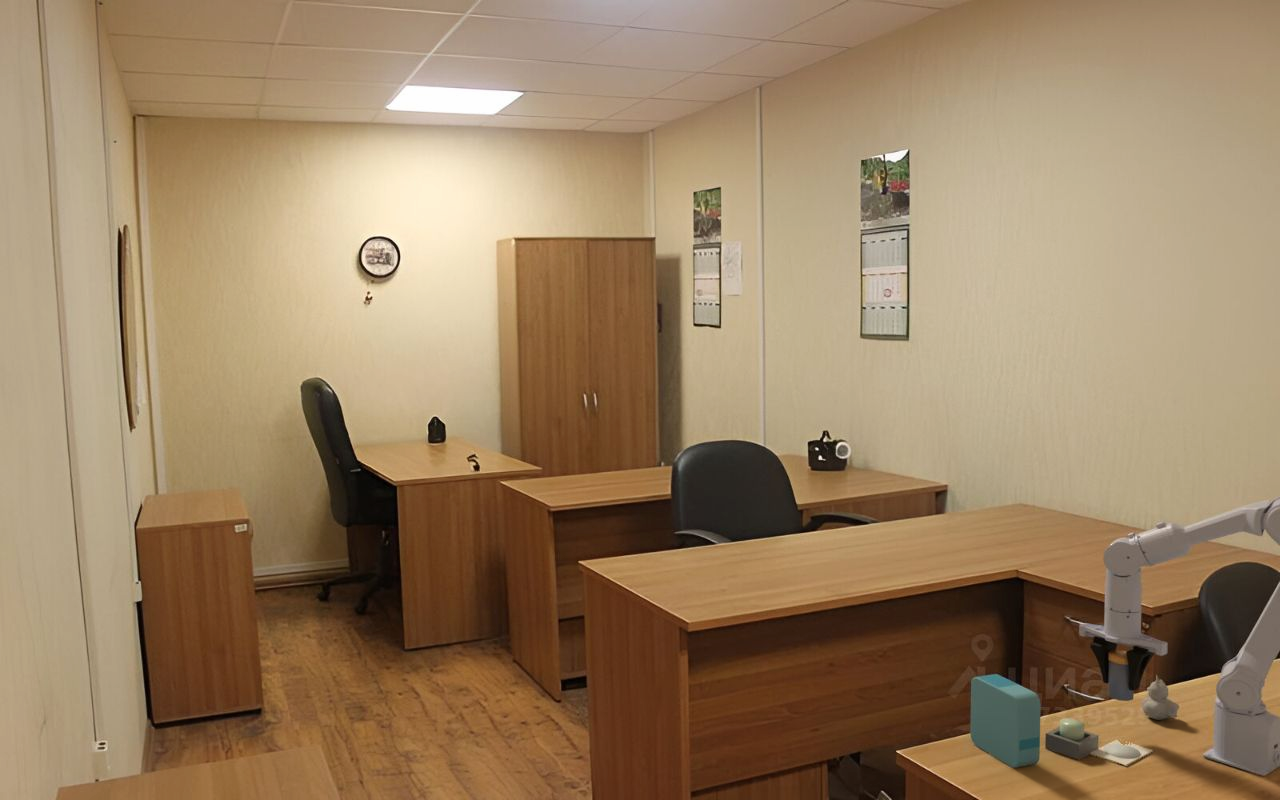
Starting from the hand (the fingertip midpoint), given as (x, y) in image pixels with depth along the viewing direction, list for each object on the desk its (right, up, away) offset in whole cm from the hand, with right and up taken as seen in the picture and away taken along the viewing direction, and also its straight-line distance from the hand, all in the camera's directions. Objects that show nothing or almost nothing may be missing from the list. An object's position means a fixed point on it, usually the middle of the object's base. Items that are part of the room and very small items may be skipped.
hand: (1120, 685), depth 177 cm
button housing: (-11, -9, -5) cm, 15 cm away
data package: (-23, -10, -7) cm, 25 cm away
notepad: (-3, -9, -7) cm, 12 cm away
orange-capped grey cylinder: (0, -2, 0) cm, 2 cm away
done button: (-11, -8, -5) cm, 14 cm away
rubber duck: (+11, -9, +8) cm, 16 cm away
